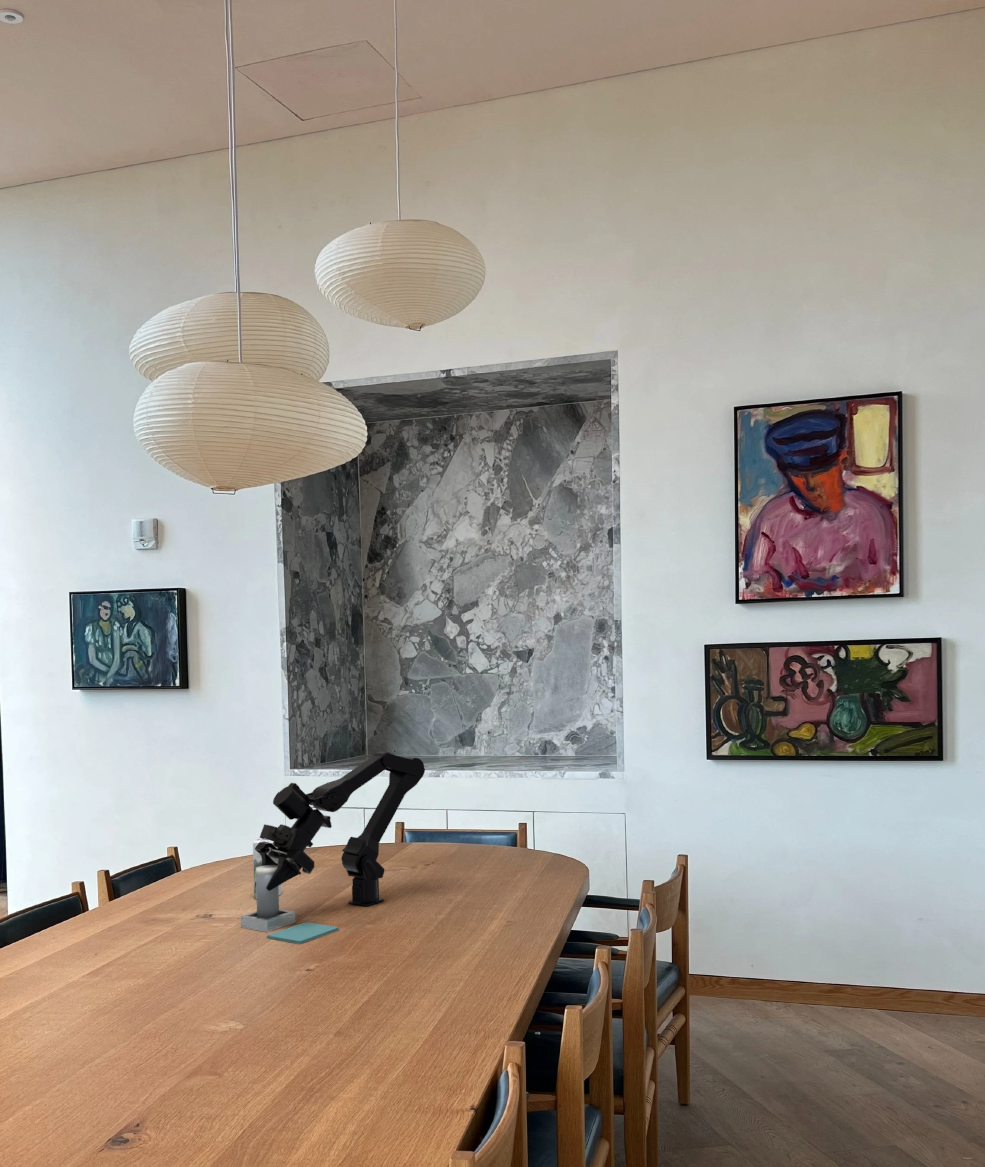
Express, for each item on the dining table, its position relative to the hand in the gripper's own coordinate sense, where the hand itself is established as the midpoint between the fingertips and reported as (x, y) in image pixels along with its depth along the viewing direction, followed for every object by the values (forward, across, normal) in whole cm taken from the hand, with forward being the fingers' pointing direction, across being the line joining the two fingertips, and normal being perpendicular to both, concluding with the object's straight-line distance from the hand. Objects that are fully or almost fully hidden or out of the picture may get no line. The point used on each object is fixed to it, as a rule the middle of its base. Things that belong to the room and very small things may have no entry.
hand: (261, 887), depth 227 cm
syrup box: (-4, -25, +17) cm, 31 cm away
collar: (+5, 0, +7) cm, 9 cm away
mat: (+4, +13, +8) cm, 16 cm away
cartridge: (+4, 0, +6) cm, 7 cm away
